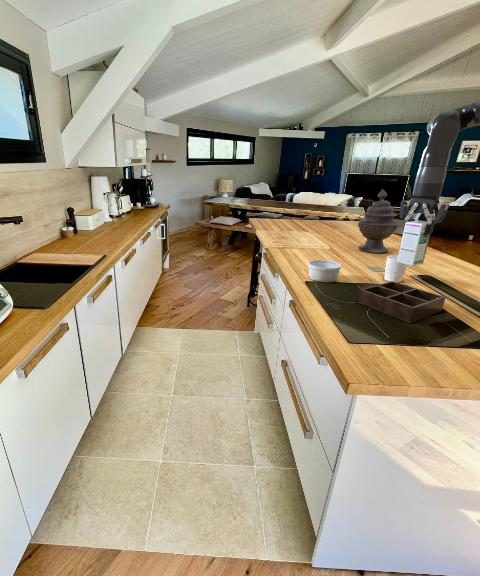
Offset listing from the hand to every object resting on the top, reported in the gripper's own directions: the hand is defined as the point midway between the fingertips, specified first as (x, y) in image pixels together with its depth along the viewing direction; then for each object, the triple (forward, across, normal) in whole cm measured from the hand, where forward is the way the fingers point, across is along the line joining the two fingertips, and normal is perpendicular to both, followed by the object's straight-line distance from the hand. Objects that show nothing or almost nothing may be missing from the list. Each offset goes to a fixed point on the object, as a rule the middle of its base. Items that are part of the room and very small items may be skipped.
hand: (416, 233), depth 107 cm
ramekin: (+25, +31, +5) cm, 40 cm away
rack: (+25, -3, +6) cm, 26 cm away
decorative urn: (+25, +52, -60) cm, 83 cm away
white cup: (+25, +15, -20) cm, 35 cm away
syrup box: (+11, 0, 0) cm, 11 cm away
